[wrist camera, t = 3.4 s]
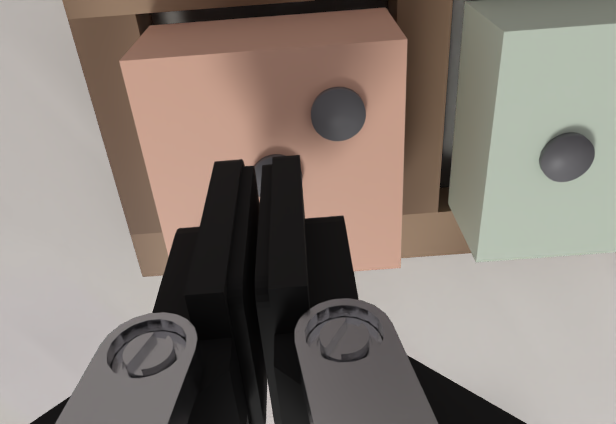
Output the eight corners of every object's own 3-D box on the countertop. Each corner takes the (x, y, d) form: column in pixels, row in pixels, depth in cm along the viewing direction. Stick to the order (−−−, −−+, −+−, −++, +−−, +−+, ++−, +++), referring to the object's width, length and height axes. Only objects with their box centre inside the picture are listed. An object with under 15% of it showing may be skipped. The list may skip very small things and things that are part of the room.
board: (1085, -142, 14) (1165, -143, 13) (889, 196, 19) (931, 219, 18) (67, -63, 14) (46, -56, 13) (152, 250, 20) (142, 276, 18)
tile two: (702, -17, 14) (803, 11, 11) (641, 189, 17) (708, 250, 14) (464, 1, 14) (507, 34, 11) (448, 203, 17) (478, 266, 14)
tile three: (385, 7, 14) (409, 41, 11) (383, 208, 17) (401, 272, 14) (149, 25, 14) (116, 64, 11) (192, 222, 17) (174, 289, 14)
